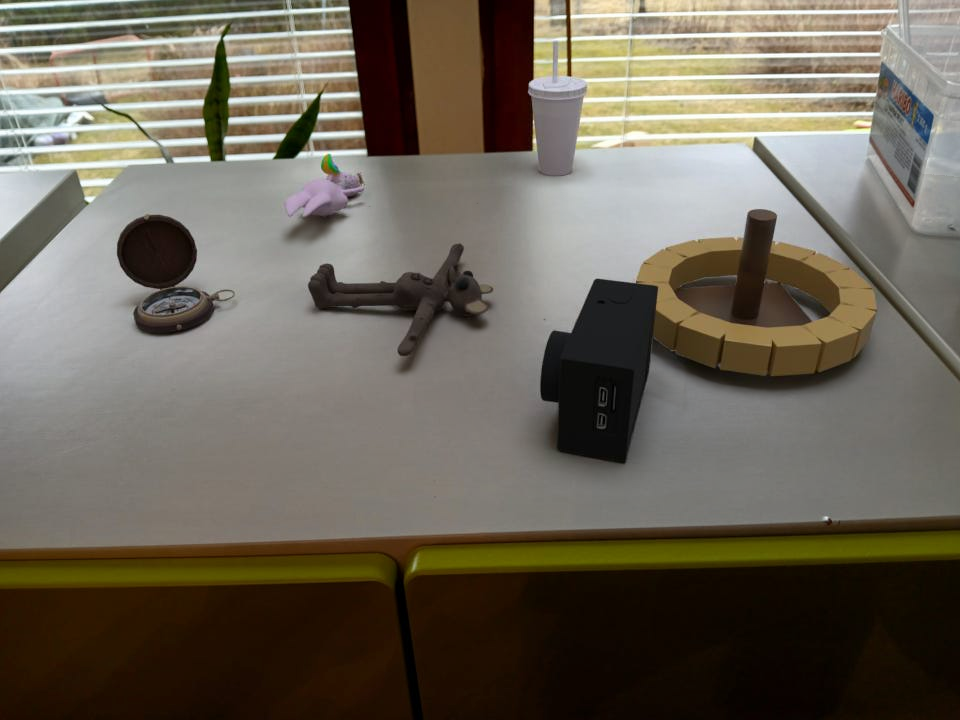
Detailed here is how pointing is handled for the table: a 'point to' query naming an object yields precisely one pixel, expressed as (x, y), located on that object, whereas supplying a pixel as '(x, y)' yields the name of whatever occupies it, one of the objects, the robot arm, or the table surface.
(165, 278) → the compass
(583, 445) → the digital camera
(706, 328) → the block ring
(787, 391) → the table surface
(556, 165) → the smoothie
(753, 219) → the brown peg stand
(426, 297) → the bear figurine
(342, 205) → the rabbit figure
